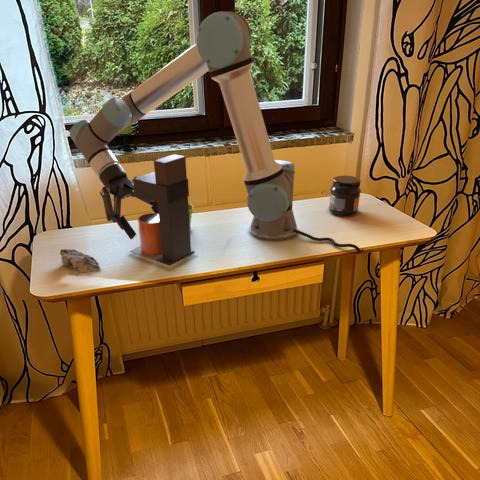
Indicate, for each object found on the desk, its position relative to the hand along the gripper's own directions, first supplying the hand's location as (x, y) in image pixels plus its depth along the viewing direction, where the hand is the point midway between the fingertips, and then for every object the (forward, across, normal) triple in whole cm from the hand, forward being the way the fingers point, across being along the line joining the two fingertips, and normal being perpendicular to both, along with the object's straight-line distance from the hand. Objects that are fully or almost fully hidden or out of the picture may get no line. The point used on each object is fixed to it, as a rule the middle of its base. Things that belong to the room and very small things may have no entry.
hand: (150, 229), depth 150 cm
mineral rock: (-1, +19, -12) cm, 23 cm away
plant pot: (+3, -17, -8) cm, 19 cm away
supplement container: (+28, -66, +17) cm, 73 cm away
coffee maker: (+8, 0, -3) cm, 9 cm away
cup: (+5, 0, -4) cm, 6 cm away
